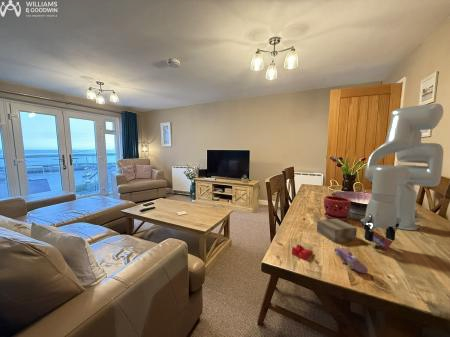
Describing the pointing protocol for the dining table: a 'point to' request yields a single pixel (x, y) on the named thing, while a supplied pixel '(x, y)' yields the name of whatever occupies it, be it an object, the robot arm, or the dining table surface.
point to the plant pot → (334, 211)
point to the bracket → (301, 252)
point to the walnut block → (336, 230)
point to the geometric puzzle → (381, 240)
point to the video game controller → (350, 259)
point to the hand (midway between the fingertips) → (379, 239)
